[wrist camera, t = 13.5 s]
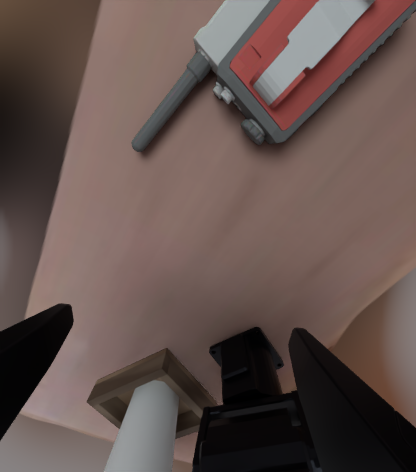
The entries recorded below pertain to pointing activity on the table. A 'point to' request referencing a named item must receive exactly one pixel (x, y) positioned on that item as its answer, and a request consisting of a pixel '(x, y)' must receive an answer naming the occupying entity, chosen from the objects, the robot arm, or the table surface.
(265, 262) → the table surface
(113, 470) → the white cup
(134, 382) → the frame
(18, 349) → the robot arm
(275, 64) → the walkie-talkie
